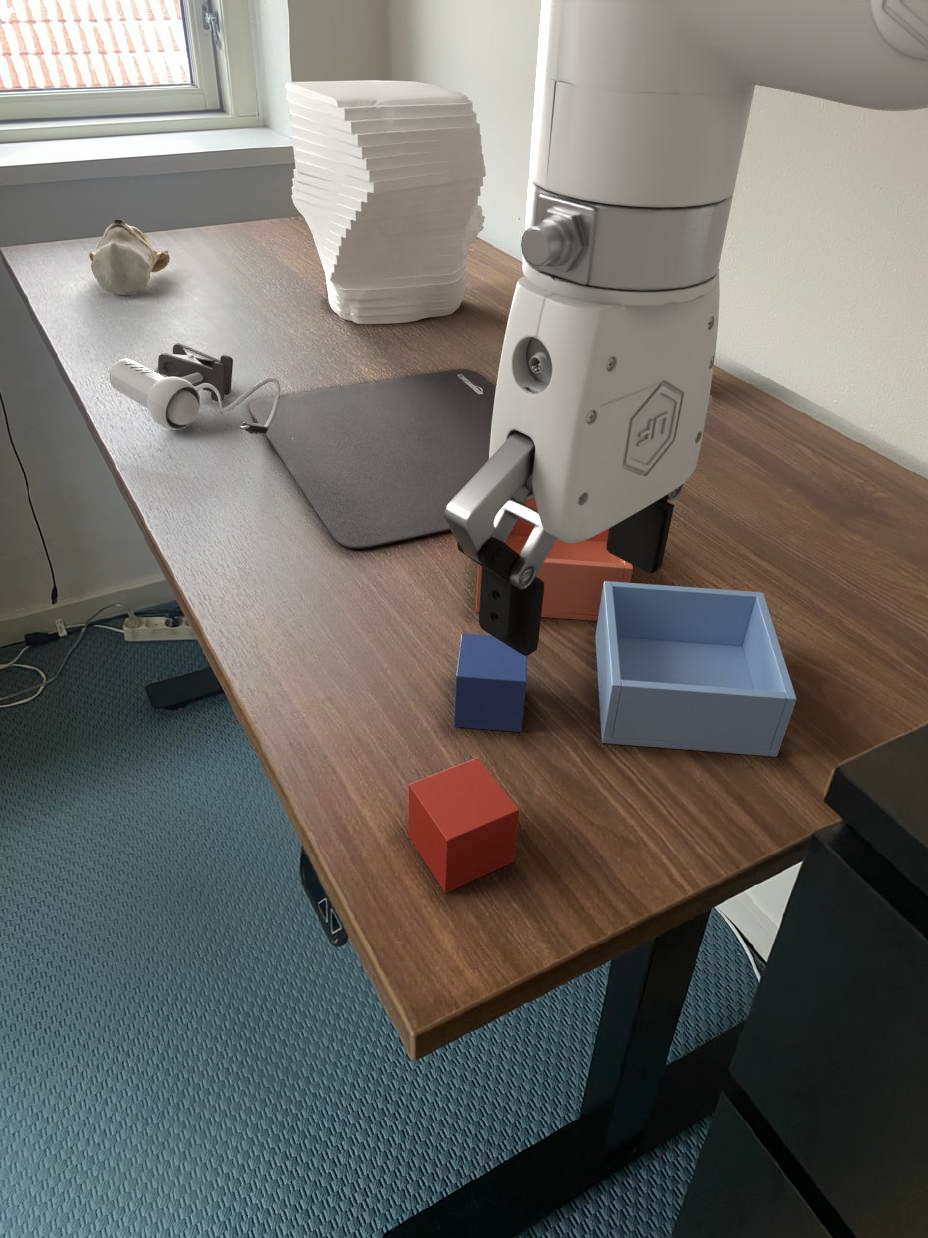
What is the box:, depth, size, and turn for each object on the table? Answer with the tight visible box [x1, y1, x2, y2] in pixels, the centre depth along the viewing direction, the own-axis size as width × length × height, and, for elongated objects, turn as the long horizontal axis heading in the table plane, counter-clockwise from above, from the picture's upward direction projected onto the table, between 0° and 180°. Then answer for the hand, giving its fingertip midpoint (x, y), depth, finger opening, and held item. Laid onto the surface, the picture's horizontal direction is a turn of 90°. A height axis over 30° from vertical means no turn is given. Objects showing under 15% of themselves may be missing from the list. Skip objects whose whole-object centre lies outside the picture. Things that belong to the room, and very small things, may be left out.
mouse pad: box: [248, 368, 496, 550], centre depth 91 cm, size 32×27×1 cm
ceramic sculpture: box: [88, 218, 171, 296], centre depth 125 cm, size 11×9×15 cm
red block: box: [408, 757, 520, 893], centre depth 51 cm, size 4×4×4 cm
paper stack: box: [284, 79, 487, 325], centre depth 115 cm, size 21×27×26 cm
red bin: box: [475, 497, 634, 622], centre depth 73 cm, size 11×11×5 cm
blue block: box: [453, 632, 528, 733], centre depth 61 cm, size 4×4×4 cm
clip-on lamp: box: [108, 342, 281, 435], centre depth 93 cm, size 12×6×18 cm
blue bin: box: [594, 581, 797, 758], centre depth 62 cm, size 11×11×5 cm
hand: (573, 598), depth 46 cm, fingers open, 9 cm apart
